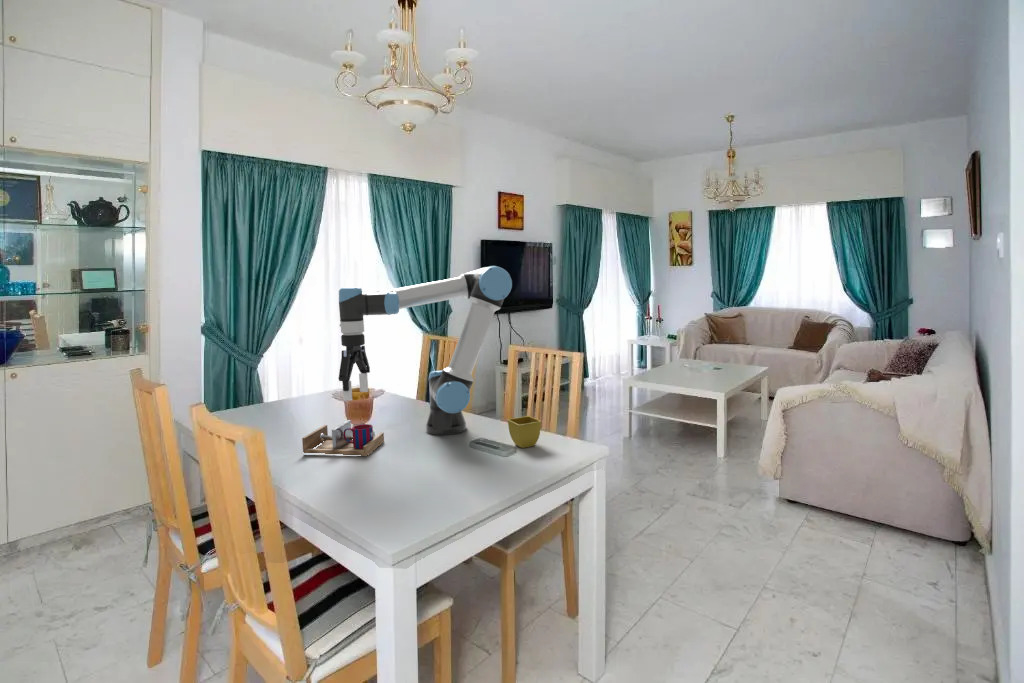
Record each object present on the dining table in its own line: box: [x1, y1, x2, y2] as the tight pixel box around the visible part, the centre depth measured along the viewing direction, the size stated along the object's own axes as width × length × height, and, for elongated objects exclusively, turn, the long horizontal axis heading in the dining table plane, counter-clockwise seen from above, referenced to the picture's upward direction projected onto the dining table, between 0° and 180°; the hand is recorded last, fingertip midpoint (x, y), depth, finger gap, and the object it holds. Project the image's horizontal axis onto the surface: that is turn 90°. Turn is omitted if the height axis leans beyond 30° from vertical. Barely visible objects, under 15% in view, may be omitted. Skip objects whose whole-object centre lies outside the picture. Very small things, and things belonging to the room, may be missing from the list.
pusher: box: [320, 419, 353, 449], centre depth 186 cm, size 8×12×7 cm, turn 173°
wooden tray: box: [301, 424, 385, 457], centre depth 186 cm, size 22×16×6 cm
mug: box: [343, 423, 374, 449], centre depth 185 cm, size 7×10×7 cm
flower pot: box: [507, 415, 542, 449], centre depth 185 cm, size 9×9×9 cm
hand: (356, 395), depth 183 cm, fingers open, 13 cm apart
